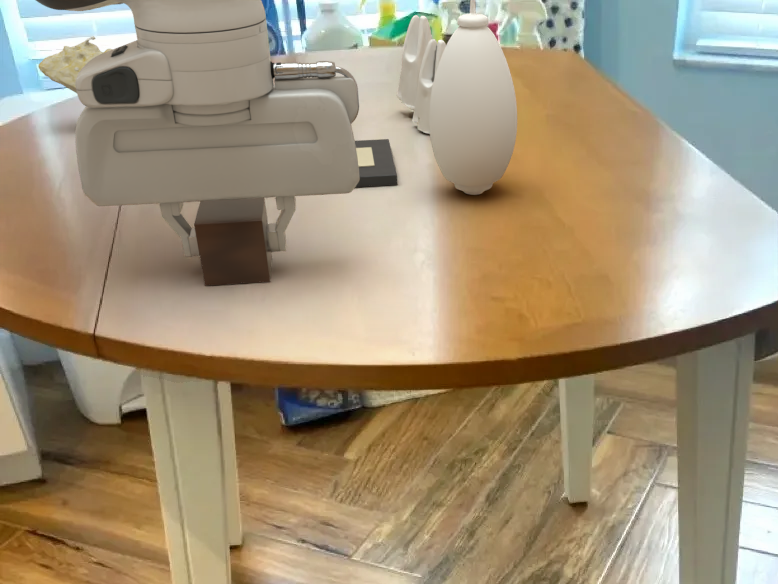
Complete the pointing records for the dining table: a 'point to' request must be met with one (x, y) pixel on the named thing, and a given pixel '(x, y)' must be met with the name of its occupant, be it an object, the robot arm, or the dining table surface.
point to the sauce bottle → (473, 107)
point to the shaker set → (419, 70)
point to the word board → (375, 163)
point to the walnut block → (233, 241)
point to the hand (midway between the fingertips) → (236, 251)
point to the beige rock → (69, 63)
